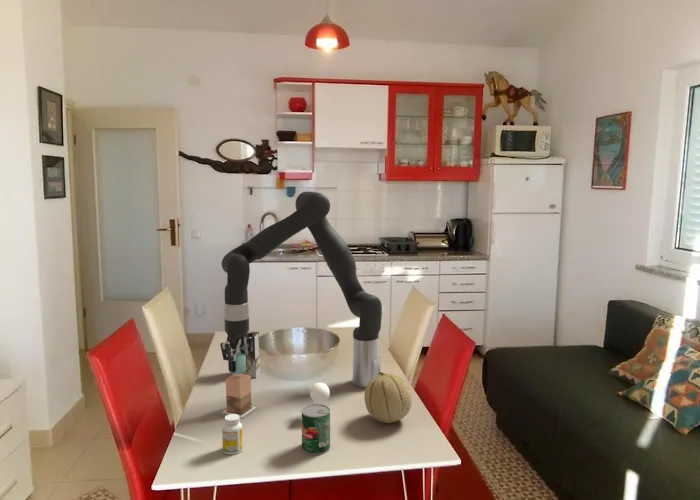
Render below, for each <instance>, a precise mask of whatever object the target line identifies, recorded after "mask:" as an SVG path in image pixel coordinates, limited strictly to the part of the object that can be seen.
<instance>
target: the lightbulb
mask: <svg viewBox="0 0 700 500" xmlns="http://www.w3.org/2000/svg"><path fill="white" fill-rule="evenodd" d="M309 396H310V398H311V400H312V401H313V404H321V405H325V406H326V403H327V401H328V400H329V398H330V388H329V386H328V385H327V384H326V383H323V382H316V383H315V384H313V385H312V386H311V387H310V391H309Z"/></svg>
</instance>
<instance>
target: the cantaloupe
mask: <svg viewBox="0 0 700 500" xmlns="http://www.w3.org/2000/svg"><path fill="white" fill-rule="evenodd" d="M379 374H380V375H379V376H377V377H375V378H373V379H372V380H371V381H370V382H369V383H368V385H367V387H366V388H365V391H364V405H365V407H366V411H367V412H368V414H369V415H370V416H371V417H372V418H373V419H375V420H376V421H378V422H381V423H383V424H384V423H385V424H391V423H395V422H397V421H401V420H403V419H404V418H405V417H406V416H407V415H408V414H409V412H410V410H411V407H412V399H413V398H412V392H411V389H410V387H409V385H408V383H407V382H406V381H405V379H403V377H401V376H399V375H396V374H395V373H394V374H392V373H384V372H382V371H380V372H379Z"/></svg>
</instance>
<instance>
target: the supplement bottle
mask: <svg viewBox="0 0 700 500" xmlns="http://www.w3.org/2000/svg"><path fill="white" fill-rule="evenodd" d="M240 421H241V419H240V417H239V415H237V414H229V415H227V416H225V415H224V423H223V425H222V427H221V428H222V429H221V431H222V451H223V453H224V454H227V455H228V456H229V455H238V454H239V453H241V451H242V449H244V448H243V447H244V446H243V443H244V442H243V424H242V423H241V422H240Z"/></svg>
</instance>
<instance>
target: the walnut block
mask: <svg viewBox="0 0 700 500" xmlns="http://www.w3.org/2000/svg"><path fill="white" fill-rule="evenodd" d="M225 396H226V400H225V401H226V407H227V412H230V413H234V414H238V415H242V414H243V413H245V412H246V411H248V410H249V409H251V405H252V391H251V392H250V393H248V394H247V395H245V396H244V397H242V398H237V397H232V396H228V395H225Z"/></svg>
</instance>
